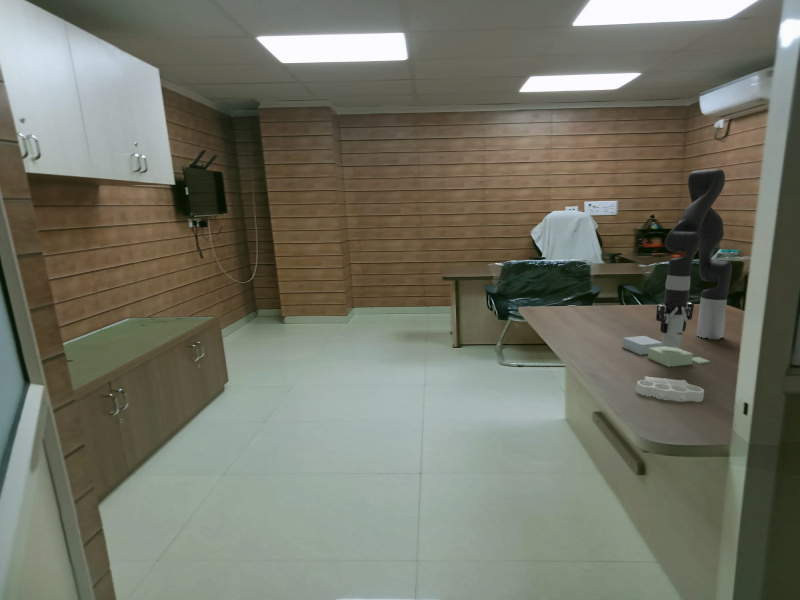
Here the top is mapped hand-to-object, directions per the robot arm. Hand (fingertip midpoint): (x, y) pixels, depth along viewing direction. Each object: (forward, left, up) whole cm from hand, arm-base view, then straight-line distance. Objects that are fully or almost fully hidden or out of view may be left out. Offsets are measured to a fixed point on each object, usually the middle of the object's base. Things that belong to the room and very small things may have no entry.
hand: (672, 331), depth 169 cm
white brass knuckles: (+23, +24, -12) cm, 35 cm away
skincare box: (0, 0, -6) cm, 6 cm away
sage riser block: (0, 0, -11) cm, 11 cm away
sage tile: (-10, +3, -11) cm, 15 cm away
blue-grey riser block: (0, -14, -11) cm, 18 cm away
